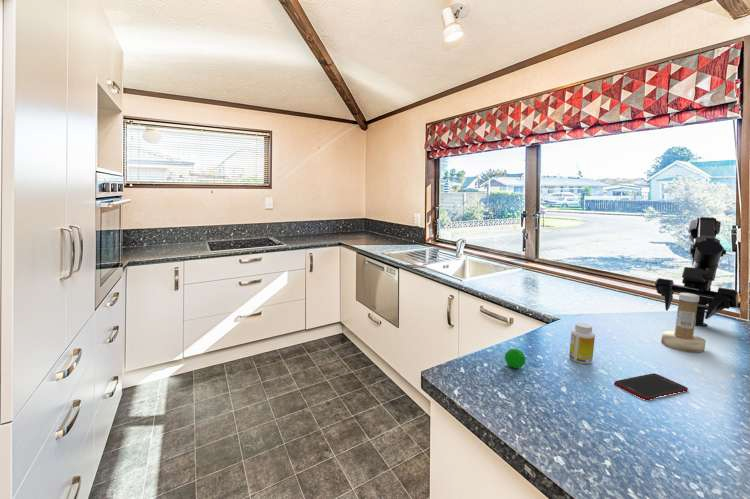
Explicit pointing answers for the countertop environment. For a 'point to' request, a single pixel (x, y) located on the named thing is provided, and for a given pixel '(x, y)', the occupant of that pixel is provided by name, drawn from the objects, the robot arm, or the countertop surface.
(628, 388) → the cell phone
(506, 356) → the green ball
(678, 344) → the round beige base
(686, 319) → the sprinkles bottle
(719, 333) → the countertop surface
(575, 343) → the supplement bottle
